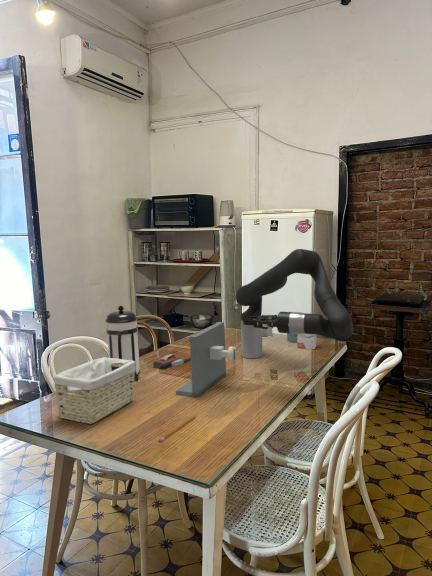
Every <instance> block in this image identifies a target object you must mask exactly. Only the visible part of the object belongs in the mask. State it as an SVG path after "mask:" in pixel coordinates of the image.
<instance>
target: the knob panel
mask: <svg viewBox="0 0 432 576" xmlns="http://www.w3.org/2000/svg"><path fill="white" fill-rule="evenodd" d="M225 328H226V327H225V322H224V321H218V322H215V323H214V324H212V325H210V326H208V327H206V328H204V329H201V330H200V331H198V332H196V333H195V334H192V335H190V336H189V346H190V357H191V359H190V366H191V367H190V368H191V369H190V370H191V379H190V380H189V381H187V382H186V383H185V384H183V385H181V386H180V387H178V389H176V390H175V394H176V395H177V396H185V397H191V398H192V397H193V398H200V397H201V396H202V395H204V393H206V392H207V391H208V390H210V389H211V388H212V387H213V386H214V385H215V384H217V383H218V382H219V381H220V380H222V379H223V378H224V377H226V376H227V364H226V362H227V361H226V358H227V357H221V355H220V351H221V350H226V332H225V331H226V330H225Z"/></svg>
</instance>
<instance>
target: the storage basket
mask: <svg viewBox="0 0 432 576" xmlns="http://www.w3.org/2000/svg"><path fill="white" fill-rule="evenodd" d="M111 366H113V367H120V368H118V369H116V370H114V371H112V368H111ZM134 374H135V361H130V360H123V359H115V358H109V357H104V356H103V357H101V358H96V359H93V360H91V361H87V362H85V363H83V364H79V365H77V366H74V367H72V368H69V369H65V370H64V371H61V372H59V373H57V374H55V375H54V376H53V383H54V389H55V394H56V400H57V406H58V412H59V417H60V418H61V419H65V420H69V421H73V422H74V421H75V422H78V423H83V424H89V425H90V424H95V423H96V422H98V421H100V420H101V419H103V418H105V417H107V416H109V415H110V414H111V413H114V412H115V411H118V410H120V409H121V408H122V407H124V406H126V405H128V404H129V403H131V402H132V401H134V391H135V381H134Z"/></svg>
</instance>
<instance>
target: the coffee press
mask: <svg viewBox="0 0 432 576" xmlns="http://www.w3.org/2000/svg"><path fill="white" fill-rule="evenodd" d="M124 309H125V308H124V306H123V305H118V307H117V310H118V311H113V312H110V313H109V314H107V316H106V318H105V320H104V321H105V323H106V330H105V331H106V335H107V336H106V337H107V350H108V358H115V359H123V360H130V361H135V374H134V382H136V381H138V380H139V376H138V374H139V373H140V372H141V371H140V359H139V357H140V356H139V337H138V331H139V328H138V320H139V319H138V318H139V317H138V315H137V314H136V313H135V312H133V311H129V310H124ZM111 368H112V371H114V370H116V369H118V368H120V367H113V366H111Z"/></svg>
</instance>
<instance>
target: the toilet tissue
mask: <svg viewBox="0 0 432 576" xmlns="http://www.w3.org/2000/svg"><path fill="white" fill-rule="evenodd" d="M272 335H273V328H268V329H261V336H262V337H268V336H272ZM272 337H273V336H272Z"/></svg>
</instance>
